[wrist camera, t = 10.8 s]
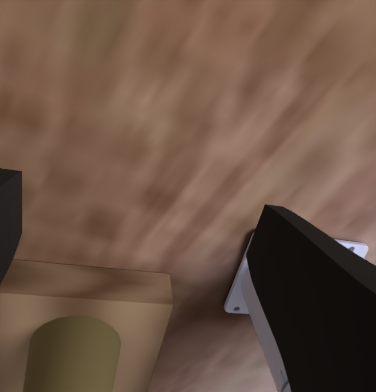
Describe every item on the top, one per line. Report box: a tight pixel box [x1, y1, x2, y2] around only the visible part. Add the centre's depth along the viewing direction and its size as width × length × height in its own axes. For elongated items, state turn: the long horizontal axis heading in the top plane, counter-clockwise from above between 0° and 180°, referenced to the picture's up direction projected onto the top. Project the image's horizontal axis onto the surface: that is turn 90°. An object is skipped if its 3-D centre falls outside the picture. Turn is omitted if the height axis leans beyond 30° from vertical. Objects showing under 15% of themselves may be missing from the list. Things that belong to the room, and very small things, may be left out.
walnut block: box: [0, 260, 174, 392], centre depth 25 cm, size 11×11×3 cm
